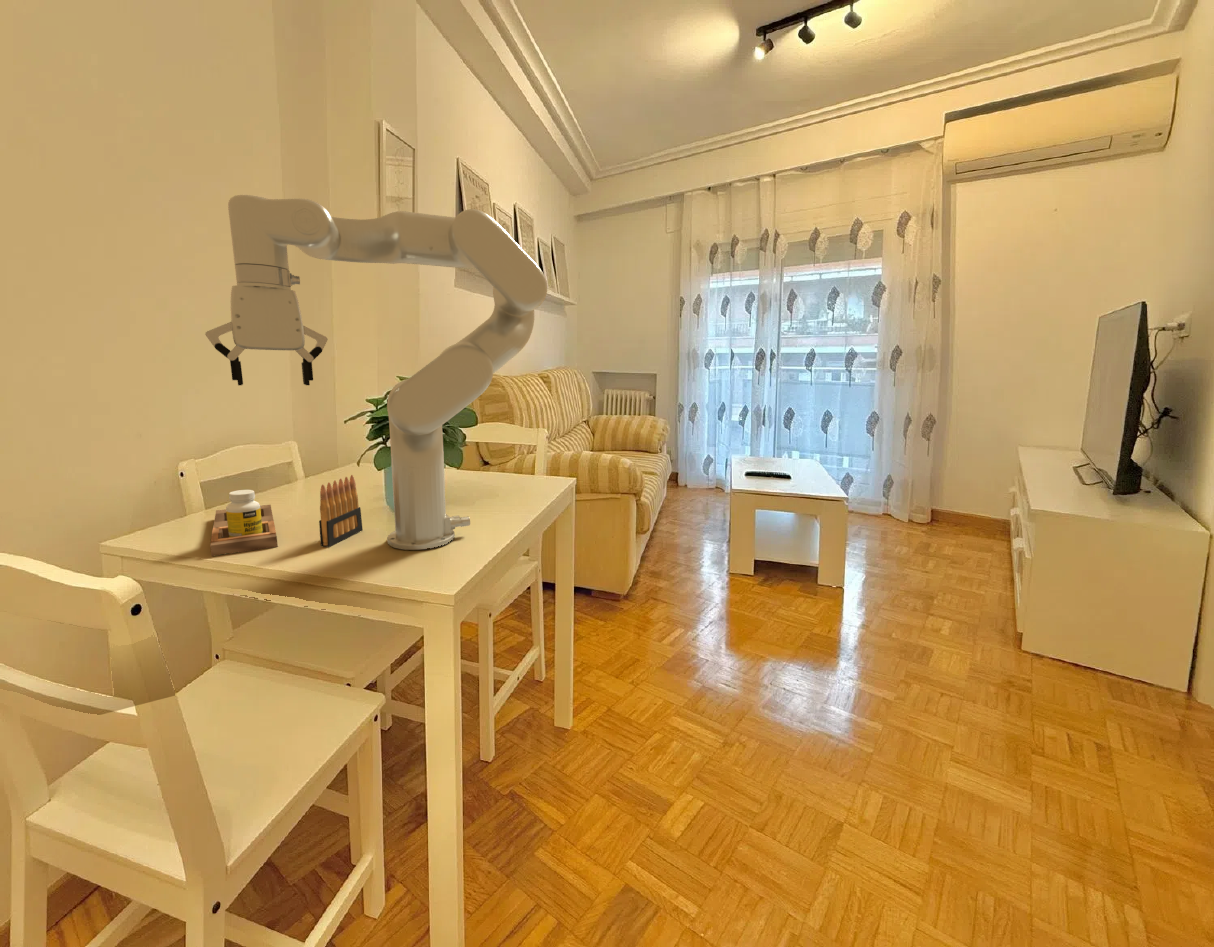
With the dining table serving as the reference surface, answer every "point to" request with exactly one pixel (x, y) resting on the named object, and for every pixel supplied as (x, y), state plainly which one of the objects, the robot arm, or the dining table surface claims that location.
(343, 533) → the ammunition clip
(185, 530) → the dining table surface
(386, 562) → the dining table surface
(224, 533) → the hole rail
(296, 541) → the dining table surface
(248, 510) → the supplement bottle
